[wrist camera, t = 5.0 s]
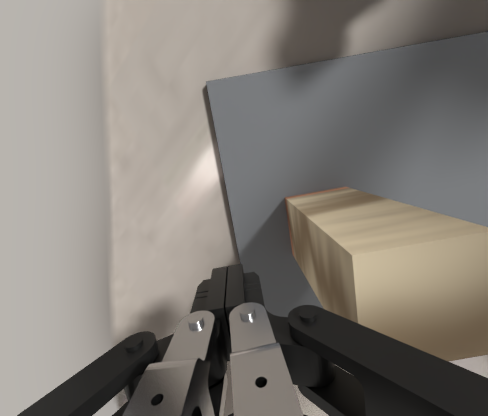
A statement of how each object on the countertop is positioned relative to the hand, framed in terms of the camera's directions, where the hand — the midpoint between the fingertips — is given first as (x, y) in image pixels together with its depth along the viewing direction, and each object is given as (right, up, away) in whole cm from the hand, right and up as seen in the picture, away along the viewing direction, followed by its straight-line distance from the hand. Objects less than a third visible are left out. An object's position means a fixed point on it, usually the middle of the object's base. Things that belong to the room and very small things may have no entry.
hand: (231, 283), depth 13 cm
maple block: (+7, +3, +8) cm, 11 cm away
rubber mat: (+12, +4, +9) cm, 15 cm away
